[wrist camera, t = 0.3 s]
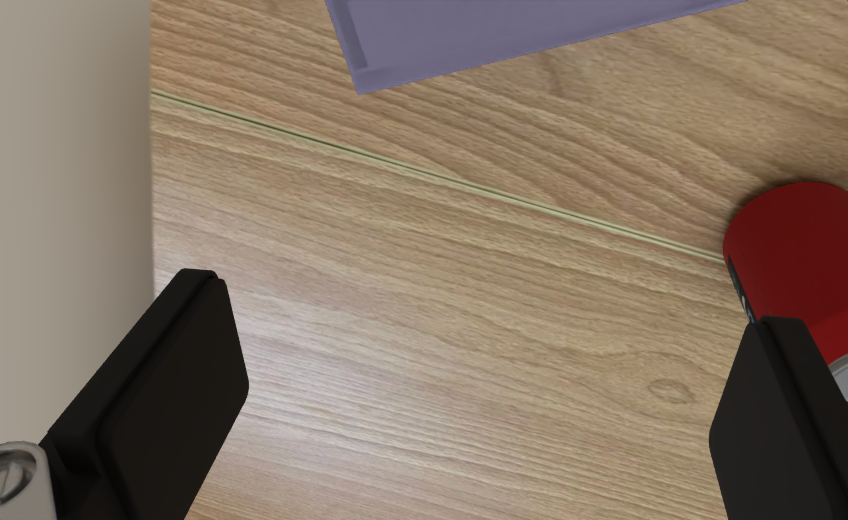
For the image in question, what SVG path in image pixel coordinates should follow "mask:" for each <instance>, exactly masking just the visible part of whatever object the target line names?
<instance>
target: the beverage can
mask: <svg viewBox="0 0 848 520" xmlns="http://www.w3.org/2000/svg"><path fill="white" fill-rule="evenodd" d="M723 256H724V260H725V263H726V266H727V268H728V271H729V273H730V276H731V279H732V281H733V284H734V286H735V289H736V291H737V294H738V296H739V299H740V301H741V304H742V306H743V309H744V311H745V314H746V316H747V319H748V321H749V323H757V322H758V320H759V319H760V318H761V316H764V315H769V316H781V317H793V318H800V319H802V320H803V321H804V323H805V324H806V326H807V328H808V330H809V332H810V334H811V335H812V337H813V339H814V341H815V343H816V345H817V347H818V349H819V350H820V352H821V354H822V356H823V358H824V360H825V362H826V364H827V366H828V367H829V369H830V371H831V373H832V375H833V377H834V379H835V381H836V383H837V384H838V386H839V388H840V390H841V392H842V394H843V396H844V398H845V400H846V401H848V192H847V191H845V190H843V189H841V188H839V187H836V186H833V185H830V184H825V183H818V182H802V183H794V184H789V185H784V186H781V187H778V188H775V189H772V190H770V191H768V192H766V193H764V194H762V195H760V196H758V197H757V198H755V199H754V200H752V201H751V202H749V203H748V204H747V205H746V206H745V207H744V208H742V209H741V210H740V211H739V213H738V214H737V215H736V216H735V217H734V219H733V220H732V222H731V223H730V225H729V227H728V229H727V231H726V234H725V237H724V242H723Z"/></svg>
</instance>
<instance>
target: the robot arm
mask: <svg viewBox="0 0 848 520" xmlns="http://www.w3.org/2000/svg"><path fill="white" fill-rule="evenodd" d="M248 390H249V380H248V376H247V371H246V367H245V363H244V358H243V354H242V350H241V345H240V341H239V337H238V333H237V328H236V324H235V320H234V315H233V311H232V307H231V302H230V298H229V294H228V290H227V285H226V283H225V281H224V280H223V279H218V276H217V274H216V273H215V272H214V271H212V270H200V269H188V268H184V269H181V270H180V271H179V272H178V273H177V274H176V275H175V276H174V278H173V279H172V280H171V281H170V283H169V284H168V285H167V286H166V287H165V289H164V290H163V291H162V292H161V294H160V295H159V296H158V297H157V298H156V300H155V301H154V302H153V303H152V305H151V306H150V307H149V308H148V309H147V311H146V312H145V313H144V314H143V315H142V317H141V318H140V319H139V320H138V322H137V323H136V324H135V326H133V328H132V329H131V330H130V332H129V333H128V334H127V335H126V336H125V337H124V339H123V340H122V341H121V342H120V344H119V345H118V346H117V347H116V349H115V350H114V351H113V352H112V353H111V355H110V356H109V357H108V358H107V360H106V361H105V362H104V363H103V364H102V366H101V367H100V368H99V369H98V370H97V372H96V373H95V374H94V375H93V377H92V378H91V379H90V380H89V381H88V383H87V384H86V385H85V387H84V388H83V389H82V390H81V391H80V392H79V394H78V395H77V396H76V397H75V398H74V400H73V401H72V402H71V403H70V405H69V406H68V407H67V408H66V410H65V411H64V412H63V413H62V414H61V416H60V417H59V418H58V419H57V420H56V422H55V423H54V424H53V425H52V427H51V428H50V429H49V430H48V433H47V434H46V436H45V437H44V438H43V439H42V440H41V442H40V443H39V444H38V445H37V444H35V443H30V442H26V441H16V442H6V443H3V444H0V520H184V518H185V516H186V515H187V513H188V511H189V509H190V507H191V505H192V503H193V501H194V499H195V497H196V495H197V493H198V491H199V489H200V488H201V486H202V484H203V482H204V480H205V478H206V476H207V474H208V472H209V470H210V468H211V466H212V464H213V462H214V461H215V459H216V457H217V455H218V453H219V451H220V449H221V447H222V445H223V443H224V441H225V439H226V437H227V435H228V433H229V432H230V430H231V428H232V426H233V424H234V422H235V420H236V418H237V416H238V414H239V412H240V410H241V408H242V406H243V405H244V403H245V401H246V398H247V395H248ZM709 448H710V453H711V457H712V460H713V464H714V468H715V471H716V475H717V479H718V483H719V486H720V490H721V494H722V498H723V501H724V505H725V509H726V512H727V516H728V520H848V401H846V400H845V398H844V396H843V394H842V392H841V390H840V388H839V386H838V384H837V383H836V381H835V379H834V377H833V375H832V373H831V371H830V369H829V367H828V366H827V364H826V362H825V360H824V358H823V356H822V354H821V352H820V350H819V349H818V347H817V345H816V343H815V341H814V339H813V337H812V335H811V334H810V332H809V330H808V328H807V326H806V324H805V323H804V321H803V320H802V319H800V318H793V317H781V316H769V315H764V316H761V318H760V319H759V320H758V322H757V323H749V324H748V325H747V326H746V329H745V331H744V334H743V337H742V340H741V343H740V345H739V348H738V351H737V354H736V357H735V360H734V362H733V365H732V368H731V371H730V374H729V377H728V380H727V382H726V385H725V388H724V391H723V394H722V397H721V400H720V402H719V405H718V408H717V411H716V414H715V417H714V420H713V422H712V425H711V428H710V432H709Z"/></svg>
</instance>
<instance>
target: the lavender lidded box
mask: <svg viewBox="0 0 848 520" xmlns="http://www.w3.org/2000/svg"><path fill="white" fill-rule="evenodd" d="M745 1H747V0H325V3H326V6H327V8H328V11H329V14H330V17H331V20H332V23H333V26H334V28H335V31H336V34H337V37H338V40H339V43H340V45H341V48H342V51H343V54H344V57H345V60H346V63H347V65H348V68H349V71H350V74H351V77H352V80H353V83H354V85H355V88H356V91H357V94H358V95H361V94H365V93H370V92H374V91H378V90H382V89H386V88H390V87H394V86H398V85H402V84H407V83H411V82H415V81H419V80H423V79H427V78H431V77H435V76H440V75H444V74H448V73H452V72H456V71H460V70H464V69H468V68H473V67H477V66H481V65H485V64H489V63H493V62H497V61H501V60H506V59H510V58H514V57H518V56H522V55H526V54H530V53H534V52H539V51H543V50H547V49H551V48H555V47H559V46H563V45H567V44H572V43H576V42H580V41H584V40H588V39H592V38H596V37H600V36H605V35H609V34H613V33H617V32H621V31H625V30H629V29H633V28H638V27H642V26H646V25H650V24H654V23H658V22H662V21H666V20H671V19H675V18H679V17H683V16H687V15H691V14H695V13H699V12H704V11H708V10H712V9H716V8H720V7H724V6H728V5H732V4H737V3H741V2H745Z"/></svg>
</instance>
